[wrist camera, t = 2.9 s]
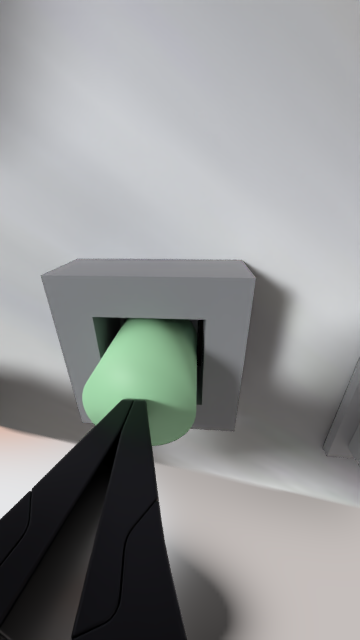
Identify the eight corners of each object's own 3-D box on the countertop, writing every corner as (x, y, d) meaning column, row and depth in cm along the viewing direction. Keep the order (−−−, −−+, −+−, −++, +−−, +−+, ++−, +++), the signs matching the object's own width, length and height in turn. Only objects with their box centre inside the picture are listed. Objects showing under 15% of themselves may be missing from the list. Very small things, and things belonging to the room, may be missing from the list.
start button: (125, 368, 13) (93, 442, 9) (117, 303, 11) (70, 359, 7) (196, 371, 13) (194, 449, 9) (198, 305, 11) (198, 364, 7)
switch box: (103, 383, 15) (82, 422, 12) (77, 258, 11) (40, 275, 9) (227, 389, 14) (234, 431, 12) (241, 259, 11) (256, 278, 8)
